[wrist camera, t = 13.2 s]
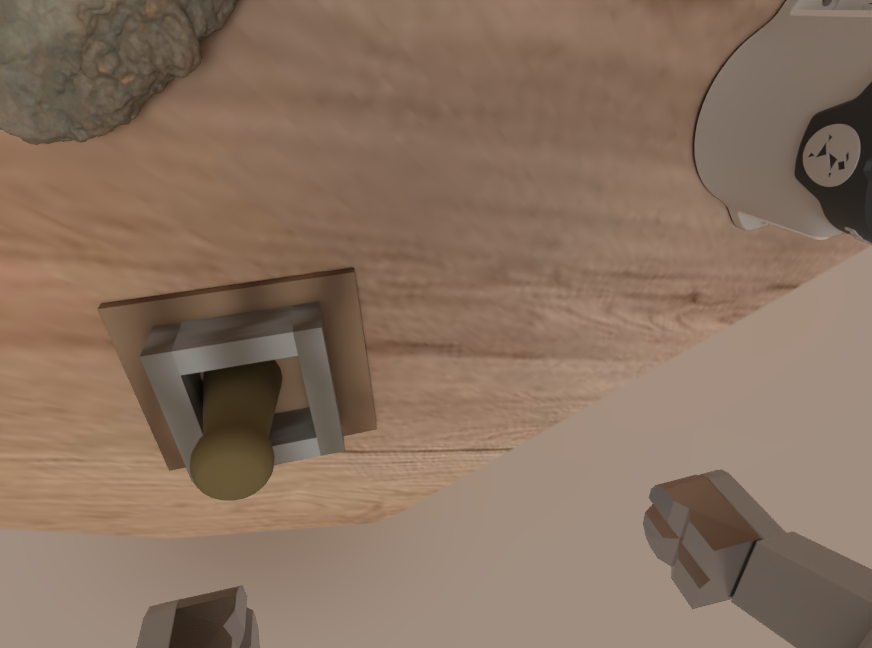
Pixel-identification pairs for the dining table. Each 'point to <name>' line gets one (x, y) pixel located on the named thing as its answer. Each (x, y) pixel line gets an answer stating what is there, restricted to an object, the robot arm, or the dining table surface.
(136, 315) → the socket block
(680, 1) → the dining table surface
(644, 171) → the dining table surface
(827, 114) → the robot arm
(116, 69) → the long grey stone
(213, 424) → the cork
